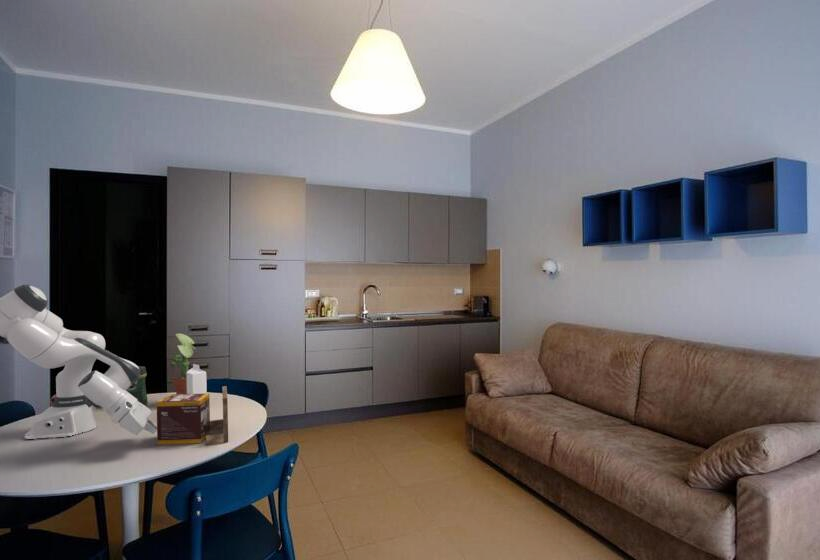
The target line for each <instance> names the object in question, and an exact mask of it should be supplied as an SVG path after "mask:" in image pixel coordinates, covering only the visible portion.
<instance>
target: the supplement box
mask: <svg viewBox="0 0 820 560" xmlns="http://www.w3.org/2000/svg"><path fill="white" fill-rule="evenodd" d="M210 411H211V409H210V393H208V392H207V393H204V394H175V393H173V394H167V396H164V397H162V398H161V399H159V400H158V401H156V427H157V430H156V435H157V436H156V439H157V441H156V444H157V446H158V445H161V446H163V445H184V444H185V445H186V444H188V445H189V444H190V445H191V444H193V445H194V444H201V443H202V442H203V441H205V439H206V436H207V435H211V429H210V421H211V413H210Z"/></svg>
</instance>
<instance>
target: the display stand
mask: <svg viewBox="0 0 820 560" xmlns="http://www.w3.org/2000/svg"><path fill="white" fill-rule="evenodd" d="M221 387H222V389H221V390H222V418H221V419H214V420H213V419H212V420H211V419H210V430H214V429H213V428H215V429H222V431H223V432H222V433H217V434H209V435H207V436H206V438H205V439H206V440H205V442H206V443H205V444H206V446H209V445H216V444H217V445H218V444H223V443H224V444H225V443H229V412H228V409H229V408H228V407H229V406H228V403H229V402H228V387H227V385H225V386H221ZM221 427H223V428H221Z"/></svg>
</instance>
